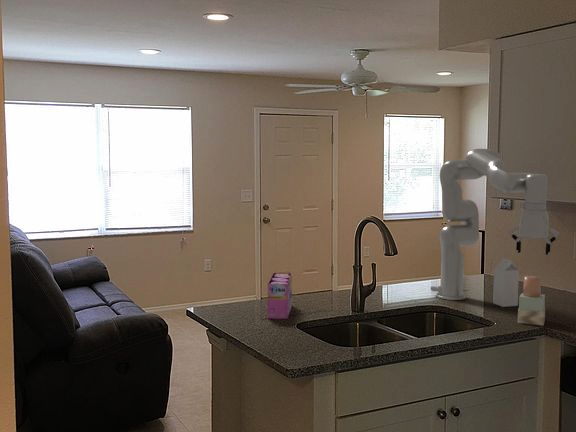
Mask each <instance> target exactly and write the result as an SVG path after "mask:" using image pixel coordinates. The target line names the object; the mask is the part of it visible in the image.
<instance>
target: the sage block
mask: <svg viewBox="0 0 576 432" xmlns="http://www.w3.org/2000/svg"><path fill="white" fill-rule="evenodd" d="M545 299H546V294H543V293H542V294H541V293H540V297H526V296H524V295H523V292H522V293H520V295H518V301H519V302H518V309H519V310H526V311H535V312H542V311H543V309H544V307H545V302H546V301H545ZM545 308H546V307H545Z"/></svg>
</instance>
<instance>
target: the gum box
mask: <svg viewBox="0 0 576 432" xmlns="http://www.w3.org/2000/svg"><path fill="white" fill-rule="evenodd" d="M292 276H293V275H292V273H290V272H289V273H288V274H283V273H281V274H279V273H277V272H274V273H272V275H271V277H270V279H269V281H268V283H267V319H277V320H278V319H280V320H281V319H283V320H284V319H285V320H287V319H288V318H289V315H290V312H291V310H292V305H293V288H292V287H293V286H292V285H293V281H292V279H293V277H292Z"/></svg>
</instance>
